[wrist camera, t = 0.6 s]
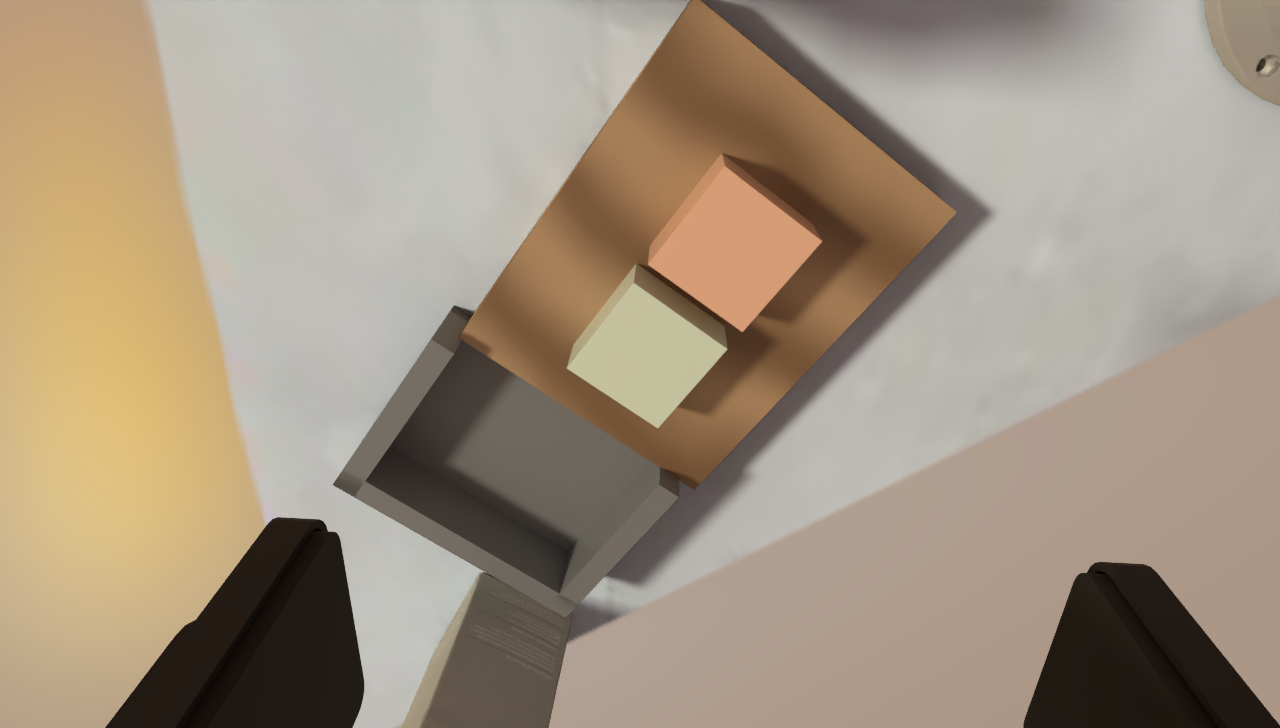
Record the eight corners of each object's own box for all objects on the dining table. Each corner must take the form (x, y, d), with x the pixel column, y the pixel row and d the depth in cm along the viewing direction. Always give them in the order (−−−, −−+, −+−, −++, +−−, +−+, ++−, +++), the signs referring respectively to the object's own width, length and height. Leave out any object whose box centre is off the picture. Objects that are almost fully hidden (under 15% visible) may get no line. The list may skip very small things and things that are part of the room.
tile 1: (636, 263, 35) (633, 282, 33) (724, 326, 36) (727, 349, 34) (573, 344, 37) (566, 368, 35) (659, 401, 38) (657, 428, 36)
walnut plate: (694, -6, 32) (695, -4, 30) (939, 197, 36) (956, 212, 33) (471, 317, 39) (458, 337, 37) (693, 462, 42) (694, 489, 40)
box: (453, 305, 39) (431, 339, 35) (679, 452, 42) (679, 497, 39) (361, 442, 43) (332, 484, 39) (574, 567, 46) (565, 617, 42)
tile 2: (721, 152, 33) (724, 166, 30) (812, 223, 34) (822, 241, 32) (649, 245, 35) (648, 264, 32) (738, 309, 36) (742, 332, 33)
